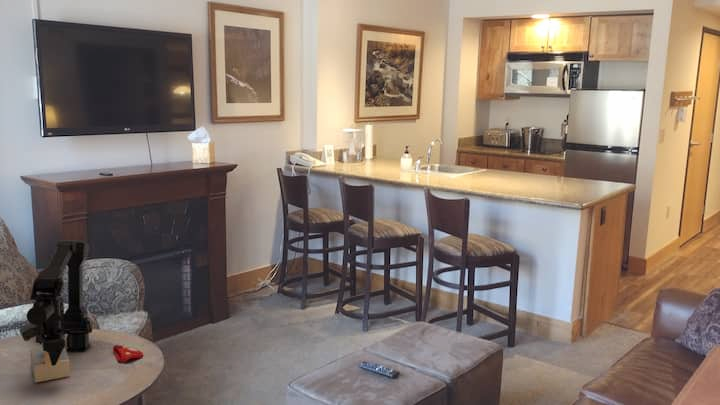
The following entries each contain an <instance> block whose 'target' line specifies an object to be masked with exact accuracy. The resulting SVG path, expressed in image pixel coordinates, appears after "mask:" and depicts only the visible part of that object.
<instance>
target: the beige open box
mask: <svg viewBox="0 0 720 405" xmlns="http://www.w3.org/2000/svg"><path fill="white" fill-rule="evenodd" d="M34 368H35V380H34V383H40V382H44V381H45V382H46V381H50V380H56V379H61V378H67V377H71V365H70V358H69V359H67V360H61V361H59V359H58V361H57V363H56V365H54V366H52V364H51V361H50V357H49V353H48V352H46V351H45V363H44V364H39V365H34Z"/></svg>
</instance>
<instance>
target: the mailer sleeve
mask: <svg viewBox="0 0 720 405" xmlns="http://www.w3.org/2000/svg"><path fill="white" fill-rule="evenodd" d="M66 349H67V348H66V346H65V347H64V348H63V350H62V352H61V355H60V357H59V361H61V360H67V359H69V360H70V358H69V355H68V351H66ZM29 352H30V366H31V371H32V375H33V380H34V381H35V368H34V365H39V364H44V363H45V351H44V350H43V348H42V346H38V347H37V346H35V347H30V350H29Z"/></svg>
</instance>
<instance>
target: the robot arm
mask: <svg viewBox="0 0 720 405" xmlns="http://www.w3.org/2000/svg"><path fill="white" fill-rule="evenodd" d="M89 252H90V246H89V243H87V242H86V241H85V240H84V241H83V240H60V241H58V242H57V247H56V250H55V252H54V254H53V255H52V257H51V260H50V262H49V264H48V265H47V267H46V268H44V269H42V270H41V271H40V272H39V273H38V274H37V276H36V277H35V279H34V280H33V285H32V289H31V294H30V298H29V299H30V301H34V302H33V303H32V307H31V308H29V309H28V311H27V313H26V320H27V321H28V324H26V325H24V326H22V327H20V328H19V334H20V335H21V337H22V339H23V341H24V342H28V341H30V340H32V339H33V338H36V336H37V335H39V336H40V337H42V338H43V340H42V345H41V347H42V348H43V350H44V351H46V352H48V353H49V357H50V361H51V364H52V366H54V365H56V363H57V361H58V359H59V357H60V355H61V352H62V350H63V348H64V347H65V349H66V352H75V351H79V352H80V351H82V353H83V352H84V353H85V351H87V350H88V349H89V348H90V346H91V345H92V344H91V343H90V340H89V339H90V338H89V336H90V335H89V334H91V333H93V323H92V321H91V319H90V318H89V311H88V310H87V308H86V307H85V306H84V304H83V302H84V297H83V296H84V295H83V294H84V293H83V291H84V290H83V288H84V285H83V284H84V283H83V281H84V280H83V278H84V277H83V273H84V270H83V268H84V267H83V265H84V263H85V262H86V260H87V259H88V254H89ZM66 268H67V290H68V291H67V301H68V303H67V304H68V305H67V308H66V310H65V311H64V314H63V319H62V329H63V334H65V335H66V336H65V339H64V337H63V336H62V335H59V333H62V329H61V323H60V320H61V316H60V298H61V296H62V294H63V290H64V286H65V282H64V279H63V274H64V272H65V270H66ZM59 297H60V298H59ZM35 301H36V302H35ZM79 352H78V353H79ZM80 353H81V352H80Z"/></svg>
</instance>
